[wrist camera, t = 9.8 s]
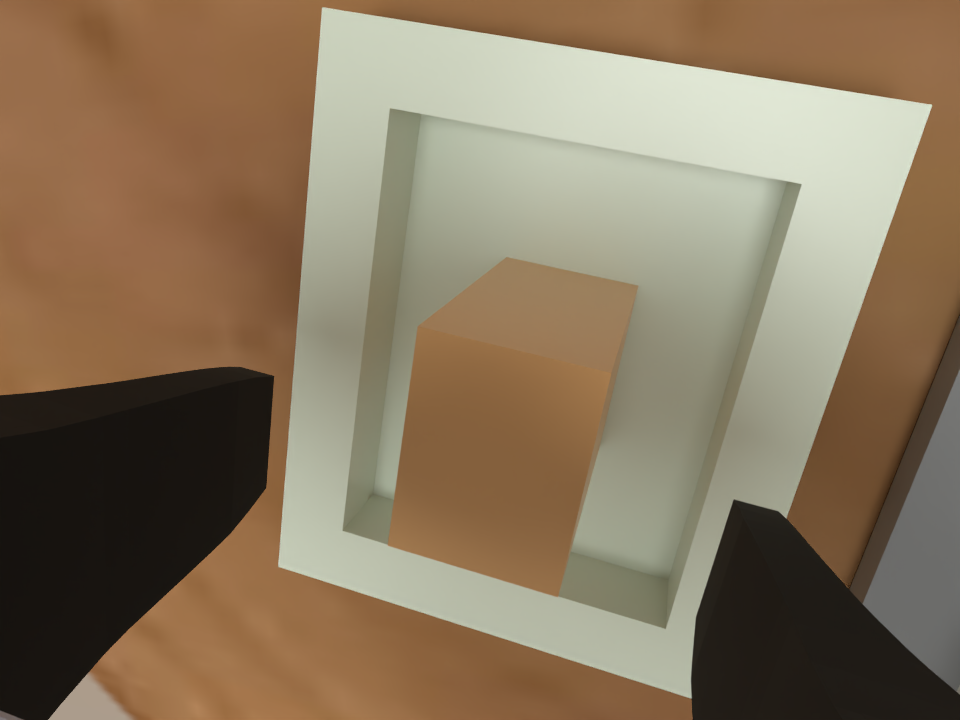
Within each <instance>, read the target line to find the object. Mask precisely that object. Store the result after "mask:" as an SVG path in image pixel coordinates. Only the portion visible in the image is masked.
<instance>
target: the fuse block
mask: <svg viewBox="0 0 960 720" xmlns="http://www.w3.org/2000/svg"><path fill="white" fill-rule="evenodd" d="M849 590H850V591H851V592H852V593H853V594H854V596H855V597H856V598H857V599H858V600H859V601H860V602H861V603H862V604H863V605H864V606H865V607H866V608H867V609H868V610H869V611H870V612H871V613H872V614H873V615H874V616H875V617H876V618H877V619H878V620H879V621H880V622H881V623H882V624H883V625H884V626H885V627H886V628H887V629H888V630H889V631H890V632H891V633H892V634H893V635H894V636H895V637H896V638H897V639H898V640H899V641H900V642H901V643H902V644H903V645H904V646H905V647H906V648H907V649H908V650H909V651H910V652H911V653H913V654H914V655H915V656H916V657H917V658H918V659H919V660H920V661H921V662H922V663H924V664H925V665H926V666H927V667H928V668H929V669H930V670H931V671H933V672H934V673H935V674H936V675H937V676H939V677H940V678H941V679H942V680H943V681H944V682H946V683H947V684H948V685H949V686H950V687H952V688H953V689H954V690H955V691H956V692H958V693H959V694H960V316H959V319H958V321H957V324H956V326H955V329H954V331H953V334H952V336H951V339H950V341H949V344H948V346H947V349H946V351H945V354H944V356H943V359H942V361H941V363H940V366H939V368H938V371H937V373H936V376H935V378H934V381H933V383H932V386H931V388H930V391H929V393H928V396H927V398H926V401H925V403H924V406H923V408H922V411H921V413H920V416H919V418H918V421H917V423H916V426H915V428H914V430H913V433H912V435H911V438H910V440H909V443H908V445H907V448H906V450H905V453H904V455H903V458H902V460H901V463H900V465H899V468H898V470H897V473H896V475H895V478H894V480H893V483H892V485H891V488H890V490H889V493H888V495H887V498H886V500H885V502H884V505H883V507H882V510H881V512H880V515H879V517H878V520H877V522H876V525H875V527H874V530H873V532H872V535H871V537H870V540H869V542H868V545H867V547H866V550H865V552H864V555H863V557H862V560H861V562H860V565H859V567H858V570H857V572H856V574H855V577H854V579H853V582H852V584H851V587H850V589H849Z"/></svg>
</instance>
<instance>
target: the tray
mask: <svg viewBox="0 0 960 720" xmlns="http://www.w3.org/2000/svg"><path fill="white" fill-rule="evenodd" d="M931 107H932V105H930V104H924V103H917V102H911V101H905V100H899V99H892V98H886V97H880V96H874V95H867V94H861V93H855V92H848V91H842V90H836V89H830V88H823V87H817V86H811V85H805V84H798V83H792V82H786V81H780V80H773V79H767V78H761V77H755V76H748V75H742V74H736V73H730V72H723V71H717V70H711V69H705V68H698V67H692V66H686V65H680V64H673V63H667V62H661V61H655V60H648V59H642V58H636V57H630V56H623V55H617V54H611V53H605V52H598V51H592V50H586V49H580V48H573V47H567V46H561V45H555V44H548V43H542V42H536V41H530V40H523V39H517V38H511V37H504V36H498V35H492V34H486V33H479V32H473V31H467V30H461V29H454V28H448V27H442V26H436V25H429V24H423V23H417V22H411V21H404V20H398V19H392V18H386V17H379V16H373V15H367V14H361V13H354V12H348V11H342V10H336V9H329V8H323V7H322V17H321V29H320V42H319V55H318V68H317V80H316V93H315V106H314V119H313V131H312V144H311V157H310V169H309V182H308V195H307V208H306V220H305V233H304V246H303V258H302V271H301V284H300V297H299V309H298V322H297V335H296V348H295V360H294V373H293V386H292V398H291V411H290V424H289V437H288V449H287V462H286V475H285V488H284V500H283V513H282V526H281V538H280V551H279V564H278V567H281V568H284V569H287V570H290V571H293V572H297V573H300V574H303V575H306V576H309V577H312V578H315V579H318V580H322V581H325V582H328V583H331V584H334V585H337V586H340V587H344V588H347V589H350V590H353V591H356V592H359V593H362V594H365V595H369V596H372V597H375V598H378V599H381V600H384V601H387V602H390V603H394V604H397V605H400V606H403V607H406V608H409V609H412V610H416V611H419V612H422V613H425V614H428V615H431V616H434V617H437V618H441V619H444V620H447V621H450V622H453V623H456V624H459V625H462V626H466V627H469V628H472V629H475V630H478V631H481V632H484V633H488V634H491V635H494V636H497V637H500V638H503V639H506V640H509V641H513V642H516V643H519V644H522V645H525V646H528V647H531V648H534V649H538V650H541V651H544V652H547V653H550V654H553V655H556V656H560V657H563V658H566V659H569V660H572V661H575V662H578V663H581V664H585V665H588V666H591V667H594V668H597V669H600V670H603V671H606V672H610V673H613V674H616V675H619V676H622V677H625V678H628V679H632V680H635V681H638V682H641V683H644V684H647V685H650V686H653V687H657V688H660V689H663V690H666V691H669V692H672V693H675V694H678V695H682V696H685V697H688V698H691V699H692V695H691V669H692V655H693V644H694V632H695V621H696V615H697V612H698V609H699V606H700V603H701V600H702V596H703V593H704V590H705V587H706V584H707V581H708V578H709V575H710V572H711V568H712V565H713V562H714V559H715V556H716V553H717V550H718V547H719V543H720V540H721V537H722V534H723V531H724V528H725V525H726V522H727V518H728V515H729V512H730V509H731V506H732V503H733V500H734V499H735V500H738V501H742V502H746V503H749V504H753V505H757V506H761V507H764V508H768V509H772V510H776V511H779V512H780V513H781V514H782V515H783V516H784V517H785V518H787V515H788V512H789V510H790V507H791V504H792V501H793V498H794V495H795V493H796V490H797V487H798V484H799V481H800V478H801V476H802V473H803V470H804V467H805V464H806V461H807V459H808V456H809V453H810V450H811V447H812V444H813V442H814V439H815V436H816V433H817V430H818V427H819V425H820V422H821V419H822V416H823V413H824V410H825V408H826V405H827V402H828V399H829V396H830V393H831V391H832V388H833V385H834V382H835V379H836V376H837V374H838V371H839V368H840V365H841V362H842V359H843V357H844V354H845V351H846V348H847V345H848V342H849V340H850V337H851V334H852V331H853V328H854V325H855V323H856V320H857V317H858V314H859V311H860V308H861V306H862V303H863V300H864V297H865V294H866V291H867V289H868V286H869V283H870V280H871V277H872V274H873V272H874V269H875V266H876V263H877V260H878V257H879V255H880V252H881V249H882V246H883V243H884V240H885V238H886V235H887V232H888V229H889V226H890V223H891V221H892V218H893V215H894V212H895V209H896V207H897V204H898V201H899V198H900V195H901V192H902V190H903V187H904V184H905V181H906V178H907V175H908V173H909V170H910V167H911V164H912V161H913V158H914V156H915V153H916V150H917V147H918V144H919V141H920V139H921V136H922V133H923V130H924V127H925V124H926V122H927V119H928V116H929V113H930V110H931ZM506 257H509V258H513V259H518V260H523V261H527V262H532V263H536V264H541V265H545V266H550V267H555V268H559V269H564V270H568V271H573V272H578V273H582V274H587V275H591V276H596V277H601V278H605V279H610V280H614V281H619V282H624V283H628V284H633V285H637V286H638V290H637V294H636V298H635V302H634V306H633V311H632V315H631V319H630V323H629V327H628V331H627V335H626V340H625V344H624V348H623V352H622V356H621V360H620V365H619V369H618V373H617V377H616V381H615V385H614V389H613V394H612V398H611V402H610V406H609V410H608V414H607V418H606V423H605V427H604V431H603V435H602V439H601V443H600V447H599V451H598V455H597V458H596V462H595V466H594V469H593V473H592V476H591V480H590V484H589V487H588V491H587V494H586V498H585V502H584V505H583V509H582V512H581V516H580V520H579V523H578V527H577V531H576V534H575V538H574V541H573V545H572V549H571V552H570V556H569V559H568V563H567V567H566V570H565V574H564V577H563V581H562V585H561V588H560V592H559V596H558V597H555V596H552V595H548V594H545V593H542V592H538V591H535V590H532V589H529V588H525V587H522V586H519V585H515V584H512V583H509V582H505V581H502V580H499V579H496V578H492V577H489V576H486V575H482V574H479V573H476V572H473V571H469V570H466V569H463V568H459V567H456V566H453V565H449V564H446V563H443V562H440V561H436V560H433V559H430V558H426V557H423V556H420V555H417V554H413V553H410V552H407V551H403V550H400V549H397V548H393V547H390V546H388V539H389V532H390V524H391V517H392V510H393V502H394V495H395V488H396V481H397V473H398V466H399V459H400V451H401V444H402V437H403V430H404V422H405V415H406V408H407V400H408V393H409V386H410V379H411V371H412V364H413V357H414V349H415V342H416V335H417V328H418V326H419V325H420V324H421V323H422V322H424V321H425V320H426V319H428V318H429V317H430V316H431V315H433V314H434V313H435V312H437V311H438V310H439V309H440V308H442V307H443V306H444V305H446V304H447V303H448V302H449V301H451V300H452V299H453V298H455V297H456V296H457V295H458V294H460V293H461V292H462V291H464V290H465V289H466V288H467V287H469V286H470V285H471V284H473V283H474V282H475V281H476V280H478V279H479V278H480V277H482V276H483V275H484V274H485V273H487V272H488V271H489V270H491V269H492V268H493V267H494V266H496V265H497V264H498V263H500V262H501V261H502V260H503V259H505V258H506Z"/></svg>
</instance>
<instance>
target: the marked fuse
mask: <svg viewBox="0 0 960 720" xmlns="http://www.w3.org/2000/svg"><path fill="white" fill-rule="evenodd" d="M637 290H638V286H637V285H633V284H628V283H624V282H619V281H614V280H610V279H605V278H601V277H596V276H591V275H587V274H582V273H578V272H573V271H568V270H564V269H559V268H555V267H550V266H545V265H541V264H536V263H532V262H527V261H523V260H518V259H513V258H509V257H506V258H505V259H503V260H502V261H501V262H500V263H498V264H497V265H496V266H494V267H493V268H492V269H491V270H489V271H488V272H487V273H485V274H484V275H483V276H482V277H480V278H479V279H478V280H476V281H475V282H474V283H473V284H471V285H470V286H469V287H467V288H466V289H465V290H464V291H462V292H461V293H460V294H458V295H457V296H456V297H455V298H453V299H452V300H451V301H449V302H448V303H447V304H446V305H444V306H443V307H442V308H440V309H439V310H438V311H437V312H435V313H434V314H433V315H431V316H430V317H429V318H428V319H426V320H425V321H424V322H422V323H421V324H420V325H419V326H418V328H417V335H416V342H415V349H414V357H413V364H412V371H411V379H410V386H409V393H408V400H407V408H406V415H405V422H404V430H403V437H402V444H401V451H400V459H399V466H398V473H397V481H396V488H395V495H394V502H393V510H392V517H391V524H390V532H389V539H388V546H390V547H393V548H397V549H400V550H403V551H407V552H410V553H413V554H417V555H420V556H423V557H426V558H430V559H433V560H436V561H440V562H443V563H446V564H449V565H453V566H456V567H459V568H463V569H466V570H469V571H473V572H476V573H479V574H482V575H486V576H489V577H492V578H496V579H499V580H502V581H505V582H509V583H512V584H515V585H519V586H522V587H525V588H529V589H532V590H535V591H538V592H542V593H545V594H548V595H552V596H555V597H558V596H559V592H560V588H561V585H562V581H563V577H564V574H565V570H566V567H567V563H568V559H569V556H570V552H571V549H572V545H573V541H574V538H575V534H576V531H577V527H578V523H579V520H580V516H581V512H582V509H583V505H584V502H585V498H586V494H587V491H588V487H589V484H590V480H591V476H592V473H593V469H594V466H595V462H596V458H597V455H598V451H599V447H600V443H601V439H602V435H603V431H604V427H605V423H606V418H607V414H608V410H609V406H610V402H611V398H612V394H613V389H614V385H615V381H616V377H617V373H618V369H619V365H620V360H621V356H622V352H623V348H624V344H625V340H626V335H627V331H628V327H629V323H630V319H631V315H632V311H633V306H634V302H635V298H636V294H637Z"/></svg>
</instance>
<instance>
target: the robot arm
mask: <svg viewBox="0 0 960 720" xmlns="http://www.w3.org/2000/svg"><path fill="white" fill-rule="evenodd" d="M273 383H274V376H272V375H268V374H264V373H261V372H257V371H253V370H249V369H246V368H242V367H219V368H208V369H200V370H192V371H185V372H178V373H172V374H165V375H159V376H152V377H146V378H140V379H133V380H127V381H120V382H114V383H106V384H99V385H91V386H83V387H76V388H68V389H60V390H53V391H45V392H35V393H24V394H12V395H0V720H48V719H49V718H50V717H51V715H52V714H53V713H54V712H55V711H56V709H57V708H58V707H59V706H60V704H61V703H62V702H63V701H64V700H65V699H66V698H67V696H68V695H69V694H70V693H71V692H72V691H73V689H74V688H75V687H76V686H77V685H78V683H80V681H81V680H82V679H83V678H84V677H85V676H86V675H87V673H88V672H89V671H90V670H91V669H92V668H93V667H94V665H95V664H96V663H97V662H98V661H99V660H100V659H101V657H102V656H103V655H104V654H105V653H106V652H107V651H108V650H109V649H110V648H111V647H112V646H113V645H114V644H115V643H116V642H117V641H118V640H119V639H120V638H121V636H122V635H123V634H124V633H125V632H126V631H127V630H128V629H129V628H130V627H132V626H133V625H134V624H135V623H136V622H137V621H138V620H139V619H140V618H141V617H142V616H143V615H144V614H145V613H147V612H148V611H149V610H150V609H151V608H152V607H153V606H154V605H155V604H156V603H157V602H158V601H159V600H161V599H162V598H163V597H164V596H165V595H166V594H167V593H168V592H169V591H170V590H171V589H172V588H173V587H175V586H176V585H177V584H178V583H179V582H180V581H181V580H182V579H183V578H184V577H185V576H186V575H187V574H188V573H190V572H191V571H192V570H193V569H194V568H195V567H196V566H197V565H198V564H199V563H200V562H201V561H202V560H203V559H204V558H205V557H207V556H208V555H209V554H210V553H211V552H212V551H213V550H214V549H215V548H216V547H217V546H218V545H219V544H220V543H221V542H222V541H223V540H224V539H225V538H226V537H227V536H228V535H229V534H230V533H231V532H232V531H233V530H234V529H235V527H236V526H237V525H238V524H239V522H240V521H241V520H242V519H243V518H244V516H245V515H246V514H247V513H248V511H249V510H250V509H251V507H252V506H253V505H254V503H255V502H256V501H257V499H258V498H259V497H260V495H261V494H262V493H263V491H264V490H265V489H266V483H267V469H268V454H269V440H270V426H271V412H272V398H273ZM691 695H692V715H693V720H960V694H959V693H958V692H956V691H955V690H954V689H953V688H952V687H950V686H949V685H948V684H947V683H946V682H944V681H943V680H942V679H941V678H940V677H939V676H937V675H936V674H935V673H934V672H933V671H931V670H930V669H929V668H928V667H927V666H926V665H925V664H924V663H922V662H921V661H920V660H919V659H918V658H917V657H916V656H915V655H914V654H913V653H911V652H910V651H909V650H908V649H907V648H906V647H905V646H904V645H903V644H902V643H901V642H900V641H899V640H898V639H897V638H896V637H895V636H894V635H893V634H892V633H891V632H890V631H889V630H888V629H887V628H886V627H885V626H884V625H883V624H882V623H881V622H880V621H879V620H878V619H877V618H876V617H875V616H874V615H873V614H872V613H871V612H870V611H869V610H868V609H867V608H866V607H865V606H864V605H863V604H862V603H861V602H860V601H859V600H858V599H857V598H856V597H855V596H854V594H853V593H852V592H851V591H850V590H849V589H848V588H847V587H846V586H845V585H844V584H843V582H842V581H841V580H840V579H839V578H838V577H837V576H836V575H835V574H834V572H833V571H832V570H831V569H830V568H829V567H828V566H827V564H826V563H825V562H824V561H823V560H822V559H821V558H820V556H819V555H818V554H817V553H816V552H815V551H814V549H813V548H812V547H811V546H810V545H809V544H808V543H807V541H806V540H805V539H804V538H803V537H802V536H801V534H800V533H799V532H798V531H797V530H796V529H795V528H794V527H793V525H792V524H791V523H790V522H789V521H788V520H787V519H786V518H785V517H784V516H783V515H782V514H781V513H780V512H779V511H776V510H772V509H768V508H764V507H761V506H757V505H753V504H749V503H746V502H742V501H738V500H735V499H734V500H733V503H732V506H731V509H730V512H729V515H728V518H727V522H726V525H725V528H724V531H723V534H722V537H721V540H720V543H719V547H718V550H717V553H716V556H715V559H714V562H713V565H712V568H711V572H710V575H709V578H708V581H707V584H706V587H705V590H704V593H703V596H702V600H701V603H700V606H699V609H698V612H697V615H696V621H695V632H694V644H693V655H692V669H691Z"/></svg>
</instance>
